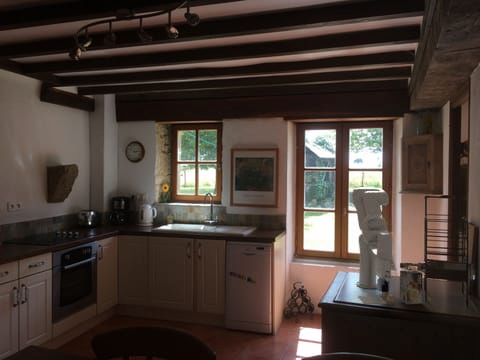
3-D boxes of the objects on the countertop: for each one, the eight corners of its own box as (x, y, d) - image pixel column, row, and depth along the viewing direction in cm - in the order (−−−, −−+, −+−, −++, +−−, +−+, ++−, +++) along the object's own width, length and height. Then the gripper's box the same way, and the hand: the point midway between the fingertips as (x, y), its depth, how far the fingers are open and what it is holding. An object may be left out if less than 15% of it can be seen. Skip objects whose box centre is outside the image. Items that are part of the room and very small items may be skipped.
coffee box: (414, 299, 201) (415, 269, 200) (422, 303, 194) (423, 272, 194) (399, 300, 199) (399, 270, 199) (406, 304, 193) (407, 273, 192)
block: (377, 289, 201) (377, 278, 201) (386, 289, 200) (386, 278, 200) (379, 291, 197) (380, 280, 197) (389, 292, 196) (389, 281, 196)
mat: (357, 296, 204) (357, 295, 204) (380, 297, 204) (380, 296, 204) (363, 303, 193) (363, 302, 193) (387, 303, 193) (387, 303, 193)
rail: (381, 296, 205) (381, 289, 204) (385, 296, 204) (385, 289, 204) (389, 304, 193) (389, 296, 192) (393, 304, 192) (393, 296, 192)
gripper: (371, 252, 207) (371, 285, 207) (382, 259, 190) (381, 295, 190) (385, 252, 206) (384, 285, 207) (397, 259, 190) (396, 295, 190)
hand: (383, 290), depth 199 cm, fingers closed on block, 4 cm apart
